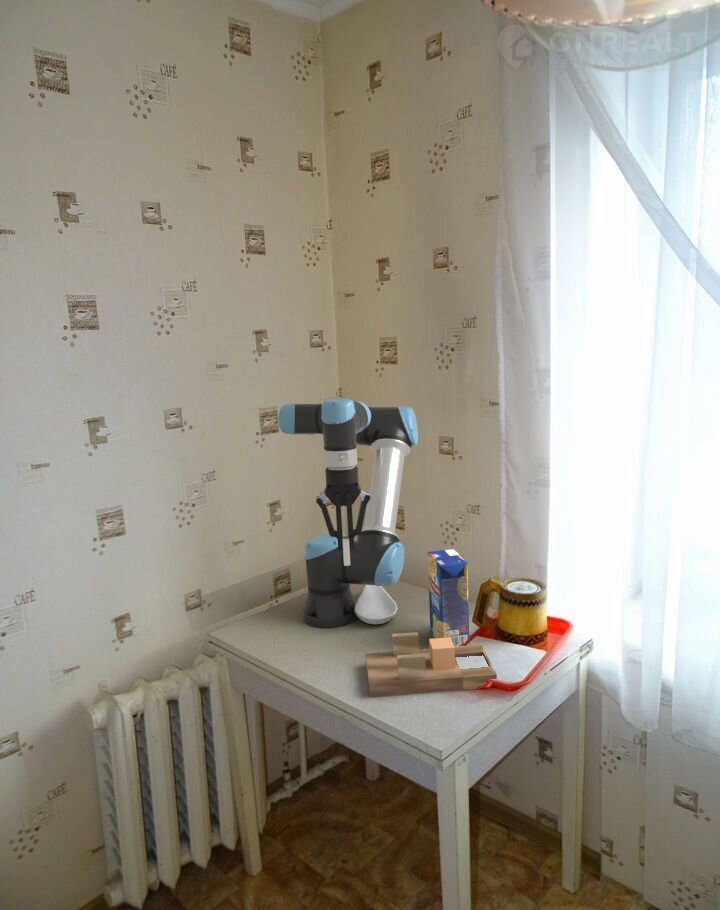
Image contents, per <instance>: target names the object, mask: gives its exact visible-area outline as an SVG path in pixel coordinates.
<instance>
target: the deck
mask: <svg viewBox="0 0 720 910" xmlns="http://www.w3.org/2000/svg"><path fill="white" fill-rule="evenodd" d="M391 637H392V639H391V641H392V651H383V652H373V653H365V667H366V674H367V675H366V676H367V682H368V689H369V696H370V698H377V697H391V696H401V695H412V694H427V693H438V692H440V693H441V692H450V691H451V692H452V691H463V690H465V691H466V690H474V689H475V690H477V687H478V686H481V685H482V686H483V685H485V684H487V682H486V681H487V680H489V679H497V680H498V677H497V675H498V674H497V672H496V669H495V668H494V667H493V665H492V662H491V660H490V659H489V656H488V654H487V653H486V651H485V649H484V647H483V644H477V645H476V644H475V645H469V646H460V647H455V658H456V657H467V656H468V657H469V656H482V655H483V656H484V658H485V660H486V662H487V664H488V666H489V667H481V668H469V669H459V666H458V664H457V661H456V659H455V668H450V669H437V670H433V667H432V664H431V661H430V650H429V648H423V649H420V645H419V644H420V643H419V642H420V641H419V633H418V631H416V632H403V633H402V632H400V633H392V634H391Z"/></svg>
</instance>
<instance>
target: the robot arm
mask: <svg viewBox="0 0 720 910" xmlns="http://www.w3.org/2000/svg"><path fill="white" fill-rule="evenodd" d="M277 418H278V419H277V421H278V427H279V429H280V431H281V432H282V433H283V434H285V435H307V436H310V435H311V436H318V437H319V436H320V437H321V436H322V439H323V440H322V441H323V455H324V465H325V467H326V468H325V470H324V471H325V472H324V473H325V485H326V486H325V488H324V492H323V493H322V494H321V495H318V496H316V498H315V503H317V505H318V506H319V508H320V509H321V512H322V515H323V518H324V522H325V525H326V529H327V531H328V533H324V534H320V535H317V536H315V537H312V538H310V539H309V540H307V542H306V544H305V547H304V548H305V556H304V559H305V569H306V570H305V571H306V580H307V581H306V584H307V594H306V599H305V603H304V607H303V621H304V622H305V623H306V624H307V625H309V626H311V627H312V626H313V627H317V628H323V629H324V628H326V629H327V628H329V629H330V628H331V629H332V628H337V627H338V628H339V627H342V626H346V625H348V624H350V623H353V621H355V620H356V619H357V618H358V616H357V615H356V613H355V610H354V608H355V604H356V600H355V598H354V596H353V592H352V590H351V587H350V584H351V585H363V586H364V585H376V586H382V587H386V586H387V587H390V586H394V585H395V584H396V583H397V582H398V581H399V579H400V577H401V575H402V572H403V568H404V563H405V554H406V553H405V552H406V551H405V546H404V545H403V543H401V542H400V537H399V536H398V534H397V532H396V526H397V519H398V509H399V503H400V495H401V486H402V481H403V480H402V479H403V469H404V463H405V462H404V461H405V457H408V455H410V454H411V447H416V446H417V445H418V443H419V428H418V422H417V417H416V414H415V411H414V409H413V408H411V406H400V405H397V406H370V407H369V406H368V405H367V404H366V403H364V402H362V401H358V400H354V401H353V400H352V399H350V398H333V399H326V400H324V401H323V402H322V403H289V404H284V405H281V407H280V409H279V412H278V417H277ZM357 445H359V446H366V447H367V446H369V447H370V448H371V450H372V452H373V453H374V460H373V465H372V473H371V479H370V480H371V481H370V487H369V492H365V491H363V490H362V487H361V486H360V483H359V470H358V466H357V464H358V450H357V449H358V448H357ZM357 498H359V500H360V503H359V508H358V509H359V510H358V514H357V519H356V524H355V525H356V526H355V528H354V520H353V517H354V516H353V505H354V504H355V503H356V500H357ZM327 499H328V500H329V501H330V502H331V504H332V505H333V506H334V507H335V519H336V530H335V528H334V525H333V522H332V518H331V515H330V512H329V510H328V509H329V508H328V507H327ZM342 507H346V519H347V522H346V523H347V535H346V534H345V533H343V519H342ZM364 519H365V521H364ZM363 525H364V526H363ZM356 536H357V537H356ZM355 537H356V540H355Z"/></svg>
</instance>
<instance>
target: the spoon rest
mask: <svg viewBox="0 0 720 910" xmlns="http://www.w3.org/2000/svg"><path fill="white" fill-rule="evenodd" d="M355 603H356V604H355V608H354V610H355V613H356V615H357V618H358V619H360V620H361V621H362V622H364V623H366V624H369V625H383V624H385V623H387V622H389V621H391V620H392V619H394V617H395V616H396V614H397V612H398V606H397V603H396V601H395V600H394V599H393V598H392V597H391V595H390V594H389V593H388V592H387V591H386V590H385V588H384V586H376V585H363V589H362V591H361V593H360V595H359V597H357V600H356V601H355Z"/></svg>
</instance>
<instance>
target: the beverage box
mask: <svg viewBox="0 0 720 910" xmlns="http://www.w3.org/2000/svg"><path fill="white" fill-rule="evenodd" d="M427 567H428V568H427V569H428V571H427V572H428V595H429V596H428V598H429V599H428V600H429V602H428V605H429V625H430V626H429V629H430V630H429V632H430V634H431V635H432V636H433V639H435V638H448V637H451V640H452V642H453V644H454V647H459V646H460V645H461V644H463V643H465V642H466V641H467V640H469V641H470V617H469V616H470V615H469V614H470V613H469V612H470V611H469V609H470V608H469V572H468V571H469V569H468V562H467V561H466V560H465V559H464V558H463V557H462V556H461V554H459V553H458V552H457V551H456V550H455V549H454V548H449V549H442V550H432V551H427Z"/></svg>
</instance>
